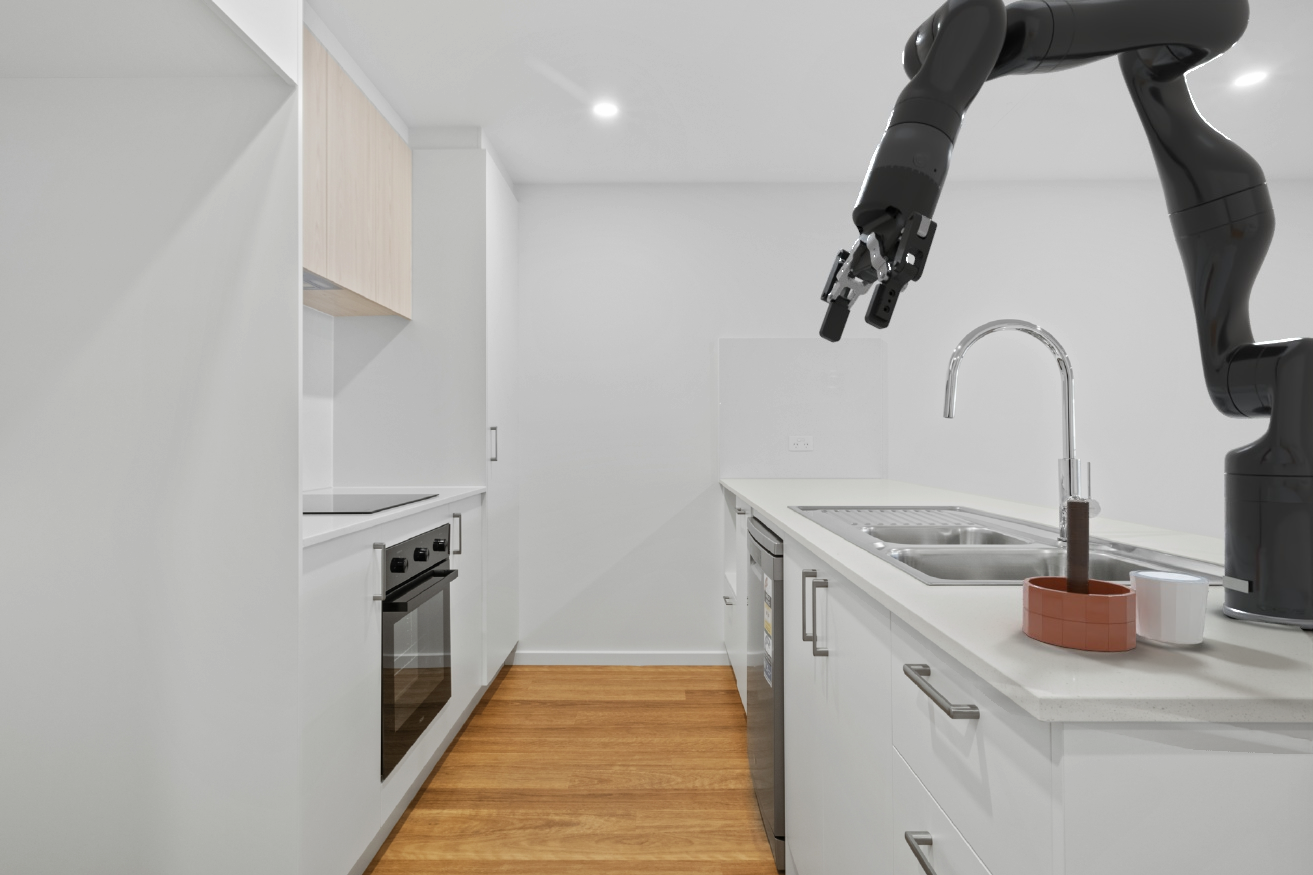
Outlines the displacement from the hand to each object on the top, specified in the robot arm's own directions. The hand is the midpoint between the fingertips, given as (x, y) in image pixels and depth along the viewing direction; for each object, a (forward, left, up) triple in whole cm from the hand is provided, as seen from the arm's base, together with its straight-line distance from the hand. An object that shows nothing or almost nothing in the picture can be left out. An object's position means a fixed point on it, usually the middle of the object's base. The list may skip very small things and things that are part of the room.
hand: (850, 332), depth 68 cm
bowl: (-19, +18, -31) cm, 41 cm away
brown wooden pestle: (-19, +18, -31) cm, 40 cm away
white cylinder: (-25, +26, -32) cm, 48 cm away
